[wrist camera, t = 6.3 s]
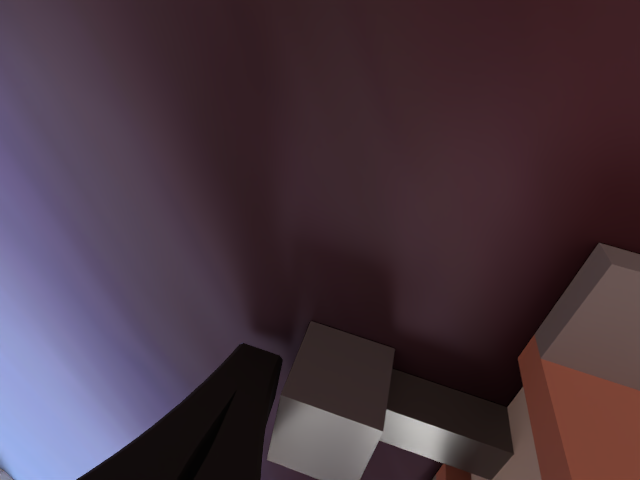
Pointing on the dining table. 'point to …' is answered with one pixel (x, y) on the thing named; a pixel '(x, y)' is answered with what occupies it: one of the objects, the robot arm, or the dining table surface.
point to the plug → (389, 416)
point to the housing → (586, 375)
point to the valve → (4, 475)
